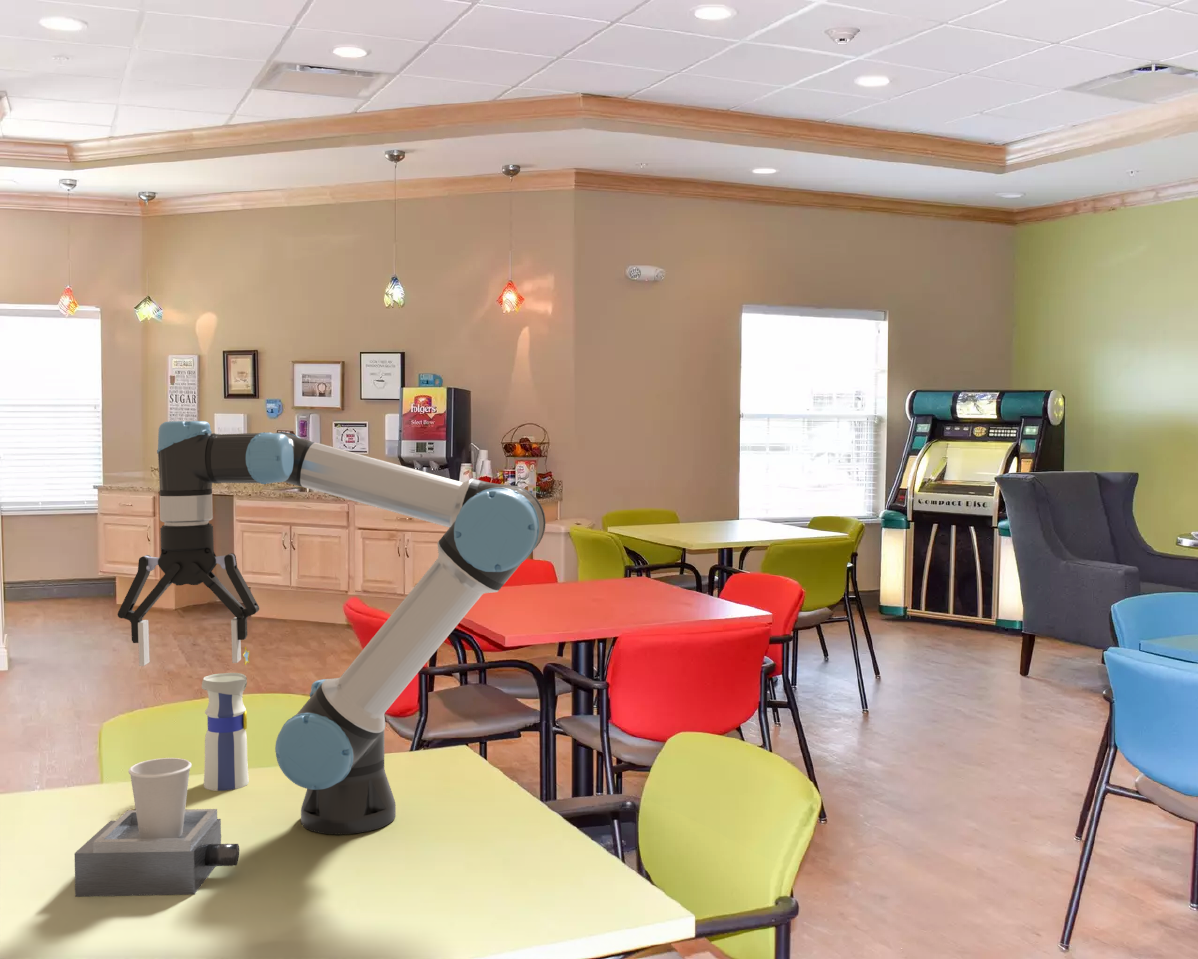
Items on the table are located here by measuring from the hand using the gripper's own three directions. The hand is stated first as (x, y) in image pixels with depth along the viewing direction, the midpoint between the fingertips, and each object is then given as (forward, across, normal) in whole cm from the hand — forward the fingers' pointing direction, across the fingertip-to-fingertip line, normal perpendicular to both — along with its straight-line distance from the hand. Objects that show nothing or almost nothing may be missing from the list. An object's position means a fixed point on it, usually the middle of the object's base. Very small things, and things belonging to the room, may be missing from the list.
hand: (190, 662), depth 173 cm
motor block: (+28, +1, +12) cm, 31 cm away
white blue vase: (+28, +2, -31) cm, 42 cm away
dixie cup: (+22, +2, +12) cm, 25 cm away
